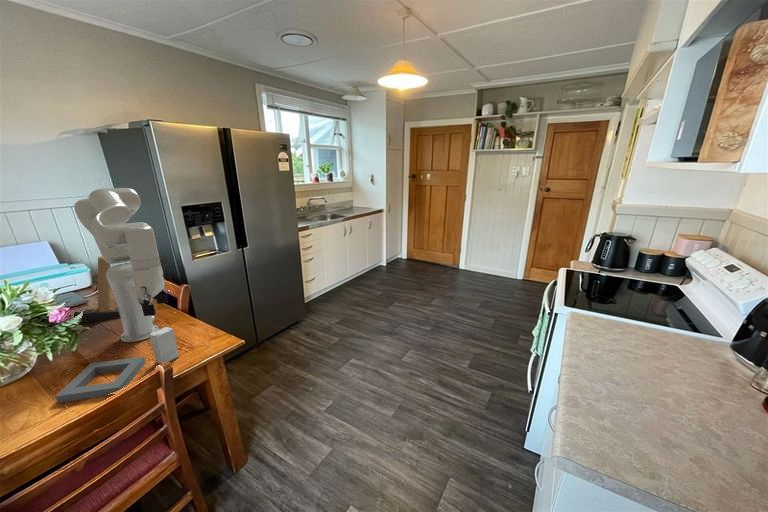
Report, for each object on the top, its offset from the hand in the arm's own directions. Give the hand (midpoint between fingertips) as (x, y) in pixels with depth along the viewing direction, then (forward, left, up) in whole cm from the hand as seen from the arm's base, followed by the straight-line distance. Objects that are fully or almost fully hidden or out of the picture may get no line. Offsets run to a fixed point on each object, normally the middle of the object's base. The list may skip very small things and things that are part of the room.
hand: (156, 308), depth 103 cm
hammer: (-42, -40, -21) cm, 62 cm away
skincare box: (0, 0, -21) cm, 21 cm away
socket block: (+8, -15, -21) cm, 27 cm away
